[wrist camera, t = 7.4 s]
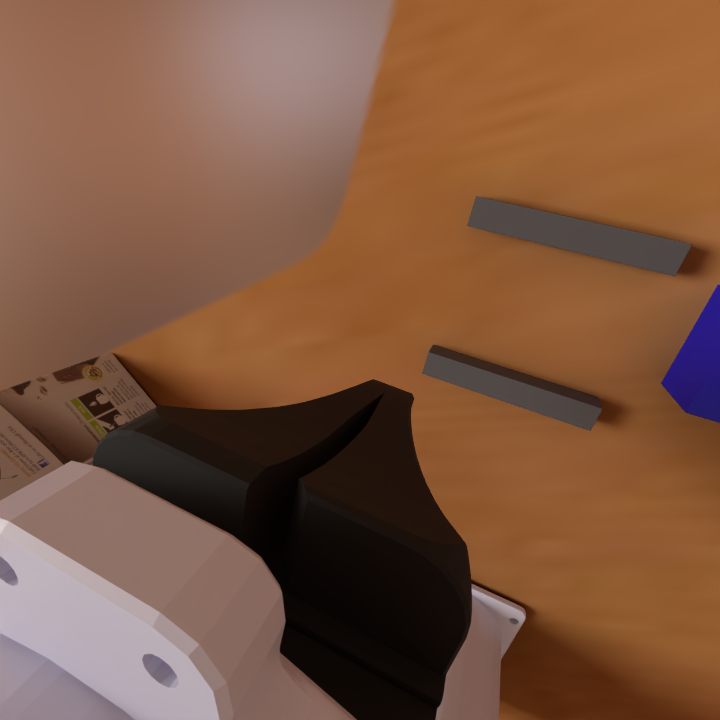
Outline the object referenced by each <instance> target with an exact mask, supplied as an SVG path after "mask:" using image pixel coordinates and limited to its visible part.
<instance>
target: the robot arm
mask: <svg viewBox="0 0 720 720" xmlns="http://www.w3.org/2000/svg"><path fill="white" fill-rule="evenodd" d="M413 401H414V397H413V395H412V393H409V392H406V391H404V390H401V389H398V388H396V387H393V386H390V385H387V384H385V383H382V382H379V381H377V380H374V379H373V380H370V381H367V382H364V383H362V384H359V385H357V386H354V387H351V388H349V389H346V390H343V391H340V392H338V393H335V394H331V395H328V396H325V397H321V398H318V399H314V400H311V401H307V402H302V403H298V404H292V405H286V406H280V407H272V408H260V409H249V410H206V409H192V408H181V407H170V406H162V405H159V406H157V407H155V408H153V409H152V410H150V411H148V412H146V413H144V414H142V415H141V416H139V417H137V418H135V419H133V420H131V421H130V422H128V423H126V424H124V425H122V426H120V427H119V428H117V429H115V430H113V431H111V432H109V433H108V434H106V435H105V436H104V437H103V438H102V439H101V440H100V441H99V442H98V444H97V447H96V449H95V452H94V456H93V466H92V465H88V464H84V463H80V462H75V461H70V462H68V463H66V464H65V465H63V466H61V467H59V468H58V469H56V470H54V471H52V472H50V473H49V474H47V475H45V476H43V477H42V478H40V479H38V480H36V481H34V482H33V483H31V484H29V485H27V486H25V487H24V488H22V489H20V490H18V491H17V492H15V493H13V494H11V495H9V496H8V497H6V498H4V499H2V500H1V501H0V720H499V706H500V671H501V659H502V657H503V656H504V654H505V652H506V651H507V649H508V647H509V646H510V644H511V642H512V641H513V639H514V637H515V636H516V634H517V633H518V631H519V629H520V628H521V626H522V624H523V623H524V621H525V619H526V612H525V610H524V608H522V607H521V606H519V605H517V604H515V603H513V602H510V601H508V600H506V599H504V598H502V597H500V596H497V595H495V594H493V593H491V592H489V591H487V590H484V589H482V588H480V587H478V586H476V585H473V584H471V573H470V564H469V557H468V550H467V546H466V544H465V542H464V541H463V539H462V538H461V537H460V535H459V534H458V533H457V532H456V530H455V529H454V528H453V526H452V525H451V524H450V523H449V521H448V520H447V519H446V517H445V516H444V514H443V513H442V511H441V510H440V508H439V506H438V505H437V503H436V502H435V500H434V498H433V496H432V494H431V492H430V490H429V488H428V486H427V484H426V481H425V479H424V476H423V474H422V471H421V468H420V465H419V462H418V459H417V455H416V451H415V447H414V442H413V436H412V427H411V407H412V404H413ZM513 618H515V619H513Z"/></svg>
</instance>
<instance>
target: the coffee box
mask: <svg viewBox="0 0 720 720" xmlns="http://www.w3.org/2000/svg"><path fill="white" fill-rule="evenodd" d="M155 407H157V406H156V405H155V404H154V403H153V401H152V400H151V399H150V398H149V397H148V396H147V394H146V393H145V392H144V391H143V389H142V388H141V387H140V386H139V385H138V384H137V382H136V381H135V380H134V379H133V377H132V376H131V375H130V374H129V373H128V372H127V371H126V369H125V368H124V367H123V366H122V364H121V363H120V362H119V361H118V360H117V358H116V357H115V356H114V355H113V354H111V353H108V354H105V355H102V356H99V357H96V358H93V359H90V360H87V361H84V362H82V363H79V364H76V365H73V366H70V367H67V368H64V369H62V370H59V371H56V372H54V373H50V374H47V375H44V376H41V377H39V378H36V379H32V380H30V381H27V382H24V383H22V384H19V385H16V386H13V387H11V388H7V389H4V390H2V391H0V501H1V500H2V499H4V498H6V497H8V496H9V495H11V494H13V493H15V492H17V491H18V490H20V489H22V488H24V487H25V486H27V485H29V484H31V483H33V482H34V481H36V480H38V479H40V478H42V477H43V476H45V475H47V474H49V473H50V472H52V471H54V470H56V469H58V468H59V467H61V466H63V465H65V464H66V463H68V462H70V461H75V462H80V463H84V464H88V465H92V466H93V456H94V452H95V449H96V447H97V444H98V442H99V441H100V440H101V439H102V438H103V437H104V436H105V435H106V434H108V433H109V432H111V431H113V430H115V429H117V428H119V427H120V426H122V425H124V424H126V423H128V422H130V421H131V420H133V419H135V418H137V417H139V416H141V415H142V414H144V413H146V412H148V411H150V410H152V409H153V408H155Z"/></svg>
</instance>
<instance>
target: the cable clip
mask: <svg viewBox="0 0 720 720" xmlns="http://www.w3.org/2000/svg"><path fill="white" fill-rule="evenodd" d="M661 384H662V385H663V386H664V388H665V389H666V390H667V391H668V392H669V393H670V395H671V396H672V397H673V398H674V399H675V401H676V402H677V403H678V404H679V405H680V406H681V408H682V409H683V410H684V411H685V412H686V413H689V414H692V415H695V416H699V417H702V418H705V419H709V420H712V421H715V422H719V423H720V285H718V286H717V287H716V289H715V291H714V292H713V294H712V296H711V298H710V299H709V301H708V303H707V305H706V306H705V308H704V310H703V312H702V313H701V315H700V317H699V319H698V320H697V322H696V324H695V326H694V327H693V329H692V331H691V332H690V334H689V336H688V338H687V339H686V341H685V343H684V345H683V346H682V348H681V350H680V352H679V353H678V355H677V357H676V359H675V360H674V362H673V364H672V365H671V367H670V369H669V371H668V372H667V374H666V376H665V378H664V379H663V381H662V383H661Z"/></svg>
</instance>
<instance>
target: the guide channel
mask: <svg viewBox="0 0 720 720" xmlns="http://www.w3.org/2000/svg"><path fill="white" fill-rule="evenodd" d="M467 226H469V227H474V228H478V229H482V230H486V231H490V232H494V233H498V234H502V235H507V236H511V237H515V238H519V239H523V240H527V241H531V242H536V243H540V244H544V245H548V246H552V247H556V248H560V249H564V250H569V251H573V252H577V253H581V254H585V255H589V256H593V257H597V258H602V259H606V260H610V261H614V262H618V263H622V264H626V265H630V266H635V267H639V268H643V269H647V270H651V271H655V272H659V273H663V274H668V275H672V276H675V275H676V273H677V271H678V269H679V268H680V266H681V264H682V262H683V260H684V258H685V257H686V255H687V253H688V251H689V249H690V247H691V245H692V244H689V243H684V242H680V241H675V240H671V239H666V238H662V237H657V236H653V235H648V234H644V233H639V232H635V231H631V230H626V229H622V228H617V227H613V226H608V225H604V224H599V223H595V222H590V221H586V220H581V219H577V218H572V217H568V216H563V215H559V214H554V213H550V212H545V211H541V210H536V209H532V208H527V207H523V206H518V205H514V204H509V203H505V202H500V201H496V200H491V199H487V198H482V197H478V196H476V199H475V202H474V205H473V209H472V212H471V215H470V218H469V222H468V225H467ZM422 374H425V375H428V376H431V377H434V378H437V379H440V380H443V381H446V382H449V383H451V384H454V385H457V386H460V387H463V388H466V389H469V390H472V391H475V392H478V393H481V394H484V395H487V396H490V397H492V398H495V399H498V400H501V401H504V402H507V403H510V404H513V405H516V406H519V407H522V408H525V409H528V410H531V411H533V412H536V413H539V414H542V415H545V416H548V417H551V418H554V419H557V420H560V421H563V422H566V423H569V424H572V425H574V426H577V427H580V428H583V429H586V430H589V431H591V429H592V428H593V426H594V424H595V422H596V420H597V418H598V417H599V415H600V413H601V411H602V406H601V404H600V402H599V400H598V398H597V397H594V396H591V395H588V394H585V393H582V392H579V391H576V390H572V389H569V388H566V387H563V386H560V385H557V384H554V383H551V382H548V381H544V380H541V379H538V378H535V377H532V376H529V375H526V374H523V373H519V372H516V371H513V370H510V369H507V368H504V367H501V366H498V365H495V364H491V363H488V362H485V361H482V360H479V359H476V358H473V357H470V356H467V355H463V354H460V353H457V352H454V351H451V350H448V349H445V348H442V347H439V346H435V345H433V346H432V348H431V349H430V351H429V353H428V356H427V359H426V363H425V366H424V369H423V373H422Z"/></svg>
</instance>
